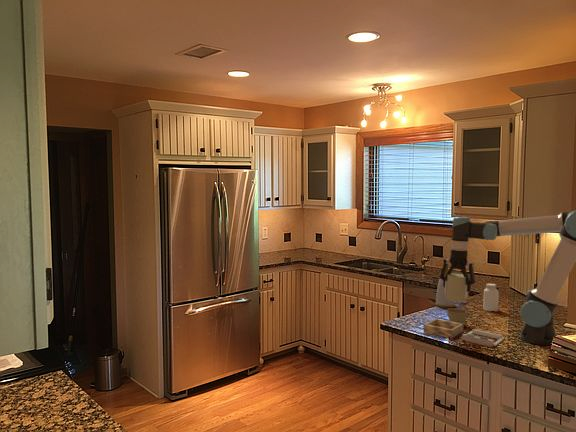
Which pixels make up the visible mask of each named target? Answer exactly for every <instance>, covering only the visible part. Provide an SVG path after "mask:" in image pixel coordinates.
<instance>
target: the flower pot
mask: <svg viewBox="0 0 576 432" xmlns="http://www.w3.org/2000/svg"><path fill="white" fill-rule="evenodd" d="M446 313H447V318H448V321H451V322H456V323H461V324H463V325H464V323H465V321H466V318H467V316H468V311H467V310H466V309H463V308H462V309H461V308H447V309H446Z"/></svg>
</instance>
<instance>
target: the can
mask: <svg viewBox="0 0 576 432" xmlns="http://www.w3.org/2000/svg"><path fill="white" fill-rule="evenodd" d="M466 284H467V283H466V277H464V275H463V273H451V274H450V275H448V278H447V294H446V299H448V300H451V301H455V302H462V303H463V302H466V301H467V298H466V299H465V298H464V295H465V285H466Z"/></svg>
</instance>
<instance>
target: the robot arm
mask: <svg viewBox="0 0 576 432" xmlns="http://www.w3.org/2000/svg"><path fill="white" fill-rule="evenodd" d="M451 227H452V228H451V240H450V241H451V242H450V243H451V244H450V248H451V249H450V258H445V259H443V263H444V264H442V269H441V271H440V272H441V273H440V276H439V279H442V280H443V287H445V294H444V295H446V294H447V278H448V275H450V274H453V272H454V270H455V269H456V270H457V269H458V270H460V271H461V274H463V275H464V277H466V283H467V284H466V285H465V295H464V298H465V299H466V300H467V299H468V298H469V293H470V292H471V289H472V288H471V287H472V286H473V285H474V284H476V278H475V270H474V267H475V266H474V263H475V262H468V253H469V251H468V249H469V239H477V240H478V239H479V240H485V241H495V240H496V239H497V237H505V236H517V235H518V236H520V235H521V236H522V235H535V234H547V233H550V234H551V233H559V238H560V240H559V243H558V245H557V247H556V249H555V250H554V253H553V254H552V256H551V258H550V260H549V263H548V264H547V266H546V267H545V270H544V272H543V274H542V276H541V278H540V279H539V282H538V284H537V286H536V287H535V288H533V289H528V290H527V291H526V294H525V301H524V303H523V304H522V305H521V306H520V316H521V318H522V320H523V322H524V324H523V326H522V329H521V332H520V335H519V336H520V339H521V340H522V341H524V342H526V343H529V344H533V345H540V346H552V345H551V343H552V340H553V337H554V336H557V333H556V329H555V325H554V323H555V321H554V320H555V312H556V309H557V307H558V305H559V301H558V296H559V294H560V292H561V290H562V289H563V287H564V284H565V283H566V280H567V279H568V278H569V275H570V273H571V272H572V269H573V268H574V266H575V264H576V209H575V210H570V211H565V212H563V211H562V212H560V213H559V214H556V215H555V214H554V215H544V216H534V217H533V216H532V217H522V218H512V219H501V220H486V221H483V222H475V221H471V219H470V217H466V216H455V217H453V219H452V226H451ZM448 263H449V264H450V267H449V265H448ZM447 266H448V267H449V268H448V269H449V271H448V272H447V274H446V276H445V273H446V269H447ZM467 267H468V271H467ZM468 272H469V273H468ZM444 276H445V277H444ZM557 337H558V336H557Z"/></svg>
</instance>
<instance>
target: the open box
mask: <svg viewBox="0 0 576 432" xmlns="http://www.w3.org/2000/svg"><path fill="white" fill-rule="evenodd" d="M425 332H426V334H430V333H431V334H430V335H434V334H436V335H435V336H439V335H441V336H440V337H443V336H446V337H445V338H448V337H450V338H449V339H454V338H455V337H457V336H459V335H460V334H461V332H462V333H463V332H464V323H463V324H461V323H456V322H451V321H450V320H445V319H440V318H433V319H432V320H430V321H428V322H426V323H424V324H423V333H425ZM459 333H460V334H459ZM456 335H457V336H456ZM454 336H455V337H454Z"/></svg>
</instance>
